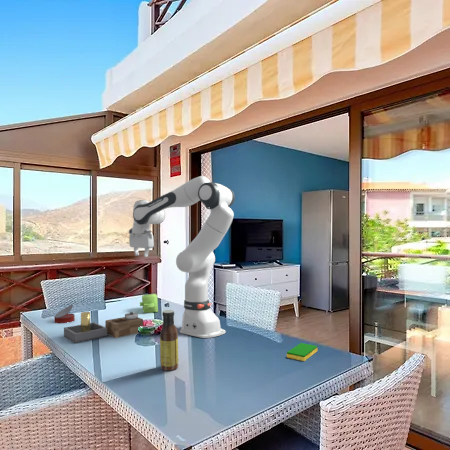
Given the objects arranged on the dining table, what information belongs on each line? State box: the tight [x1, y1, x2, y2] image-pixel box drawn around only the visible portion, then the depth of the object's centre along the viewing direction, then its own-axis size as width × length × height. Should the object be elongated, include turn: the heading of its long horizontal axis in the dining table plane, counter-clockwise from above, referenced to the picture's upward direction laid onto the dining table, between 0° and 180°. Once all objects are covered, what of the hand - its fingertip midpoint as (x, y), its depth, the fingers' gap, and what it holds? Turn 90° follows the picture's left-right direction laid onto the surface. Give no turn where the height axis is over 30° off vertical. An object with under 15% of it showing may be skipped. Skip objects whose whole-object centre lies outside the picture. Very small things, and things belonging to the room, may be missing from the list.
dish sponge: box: [286, 342, 318, 362], centre depth 140 cm, size 7×14×2 cm, turn 145°
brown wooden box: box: [104, 311, 144, 339], centre depth 169 cm, size 10×14×9 cm
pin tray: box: [63, 321, 108, 345], centre depth 163 cm, size 14×14×4 cm
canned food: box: [53, 304, 76, 324], centre depth 191 cm, size 11×10×10 cm
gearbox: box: [139, 293, 159, 314], centre depth 215 cm, size 18×10×10 cm, turn 16°
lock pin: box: [80, 311, 91, 332], centre depth 163 cm, size 4×4×10 cm
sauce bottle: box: [159, 309, 180, 371], centre depth 126 cm, size 6×6×20 cm
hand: (141, 256), depth 194 cm, fingers open, 8 cm apart
